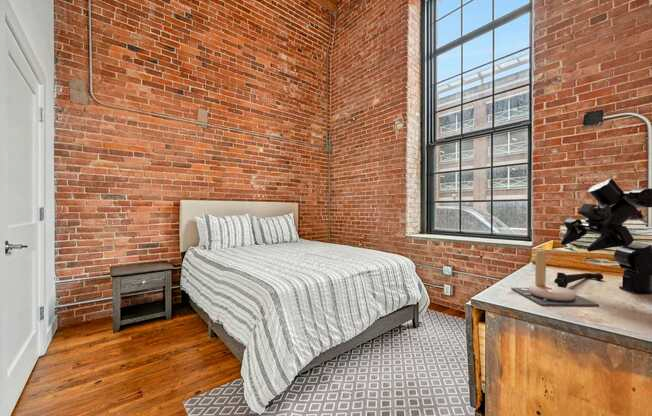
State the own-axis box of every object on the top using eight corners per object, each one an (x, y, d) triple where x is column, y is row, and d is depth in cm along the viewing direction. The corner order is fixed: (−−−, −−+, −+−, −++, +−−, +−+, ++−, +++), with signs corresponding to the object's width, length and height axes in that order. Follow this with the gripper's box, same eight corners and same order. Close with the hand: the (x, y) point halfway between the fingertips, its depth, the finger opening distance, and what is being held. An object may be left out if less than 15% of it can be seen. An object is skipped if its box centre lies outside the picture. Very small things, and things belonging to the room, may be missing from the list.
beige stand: (557, 288, 94) (558, 249, 94) (585, 300, 83) (586, 256, 83) (521, 288, 95) (521, 249, 95) (544, 300, 84) (544, 256, 84)
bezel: (559, 289, 96) (559, 286, 96) (599, 306, 81) (599, 303, 81) (510, 289, 97) (510, 286, 97) (540, 305, 82) (540, 302, 82)
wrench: (604, 285, 106) (572, 292, 90) (586, 282, 110) (552, 289, 94) (604, 270, 106) (572, 275, 90) (585, 268, 111) (552, 272, 94)
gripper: (574, 195, 102) (537, 222, 102) (633, 197, 84) (588, 231, 84) (590, 220, 103) (554, 248, 103) (652, 229, 85) (608, 262, 85)
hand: (574, 247), depth 94 cm, fingers open, 9 cm apart
